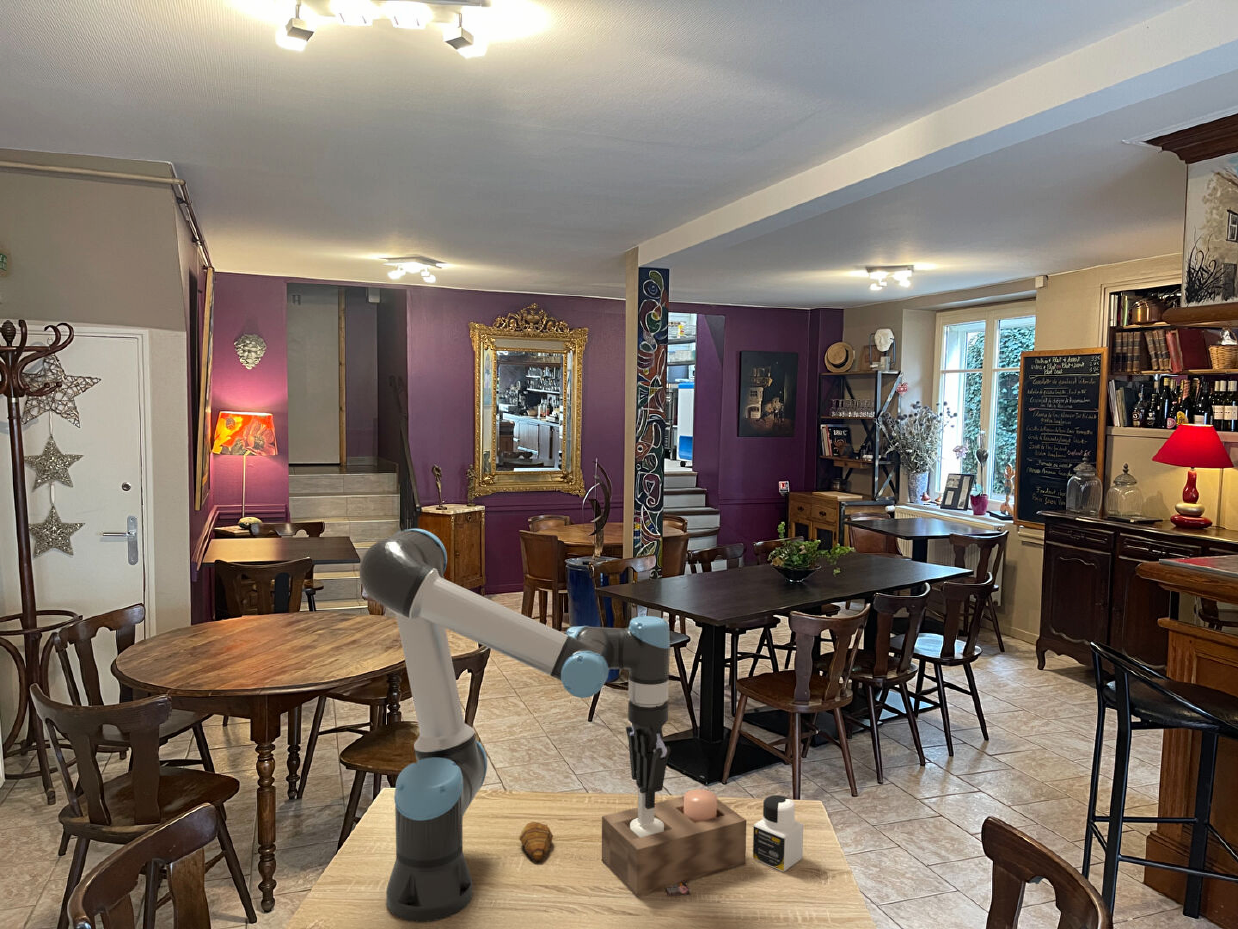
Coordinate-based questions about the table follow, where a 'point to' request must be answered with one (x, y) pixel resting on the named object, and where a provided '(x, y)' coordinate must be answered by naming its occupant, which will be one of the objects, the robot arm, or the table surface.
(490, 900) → the table surface
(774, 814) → the medicine bottle
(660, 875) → the wooden egg holder
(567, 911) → the table surface
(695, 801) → the pink egg shaped ball
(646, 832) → the white egg in box
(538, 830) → the croissant
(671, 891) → the chocolate bar
